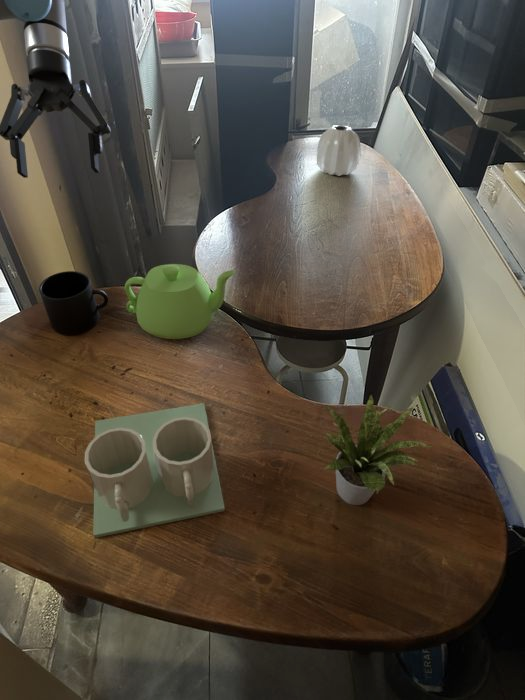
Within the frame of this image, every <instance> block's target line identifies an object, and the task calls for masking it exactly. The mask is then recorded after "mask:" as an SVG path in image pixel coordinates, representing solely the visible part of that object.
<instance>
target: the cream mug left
mask: <svg viewBox="0 0 525 700" xmlns="http://www.w3.org/2000/svg"><path fill="white" fill-rule="evenodd" d="M129 463H131V464H134V465H133V466H132V467H131V468H129V469H128V470H126V471H124V472H122V473H118V474H112V475H108V473H109V472H110V471H111V470H112V469H114V468H116V467H117V466H119V465H123V464H129ZM84 464H85V467H86V469H87V472H88V474H89V477H90V479H91V482H92V484H93V488H94V487H95V489H96V492H97V494H98V496H99V498H100V500H101V502H102V503H103V504H105V505H106V506H108V507H109V508H113V509H118V511H119V513H120V516H121V519H122V521H123V522H127V521H128V520H129V508H132V507H134V506H136V505H138V504H139V503H141V502H143V501H144V500H145V498H146V497H147V496H148V495H149V494H150V492H151V490H152V487H153V484H154V481H153V473H152V469H151V464H150V460H149V456H148V452H147V448H146V444H145V441H144V439H143V438H142V436H141V435H140V434H139V433H137V432H135V431H134V430H132V429H127V428H115V429H109V430H107V431H105V432H103V433H101V434H99V435H98V436H96V437H95V436H94V438H93V439H92V440H91V441H90V442H89V443H88V445H87V447H86V449H85V451H84Z"/></svg>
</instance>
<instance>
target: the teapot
mask: <svg viewBox="0 0 525 700" xmlns="http://www.w3.org/2000/svg"><path fill="white" fill-rule="evenodd" d="M235 274H236V270H234V269H232V270H227V271H224V272H222V273H220V275H219V276H218V277H217V280H216V288H215V290H213V291H211V289H210V287H209V285H208V283H207V282H206V280H205V278H204V277H203V276H202V275H201V273H200V272H199V271H198V270H197V269H196V268H194V267H193V266H190V265H187V264H180V263H167V264H161V265H157V266H154V267H152V268H151V269H150V270H148V272H147V273H146V275H145V277H142V276H132V277H130V278H128V279H127V280H126V281H125V282H124V283H125V284H124V292H125V294H126V297H127V298H128V301H127V302H126V304H125V308H126V310H127V312H128V313H130V314H134V315H135V314H136V321H137V324H138V325H139V326H140V328H141V329H142V330H144V331H145V332H146V333H148V334H149V335H151V336H153V337H156V338H160V339H166V340H182V339H188V338H191V337H195V336H198V335H200V334H201V333H202V332H203V331H204V330H206V329H207V327H208V326H209V325H210V323H211V321H212V320H213V316H214V313H215V312H216V311H218V310H220V308H221V307H222V305H223V304H224V301H225V294H226V284H227V282H228V279H229V278H230V277H232V276H233V275H235ZM132 285H141V286H140V288H139V291H138V293H137V296H136V295H135V293H134V291H133V290H132V288H131V286H132Z"/></svg>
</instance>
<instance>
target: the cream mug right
mask: <svg viewBox="0 0 525 700" xmlns="http://www.w3.org/2000/svg"><path fill="white" fill-rule="evenodd" d="M212 441H213V440H212V434H211V431H210V428H209V429H208V428H207V426H206V425H205V424H204V423H203V422H201V421H199V420H197V419H195V418H189V417H181V418H175V419H172V420H170V421H168V422H166V423H164V424H163V425H162V426H161V427H160V428H159V429H158V430H157V431H156V433H155V435H154V438H153V451H154V455H155V460H156V464H157V468H158V473H159V477H160V482H161V484H162V485H163V487H164V488H165V490H166V491H168V492H170V493H171V494H173V495H175V496H181V497H187V503H188V507H189V508H194V507H195V499H194V495H197V494H198V493H200V492H202V491H203V490H205V489H206V488H207V487H208V485H209V484H210V483H211V481H212V478H213V475H214V464H213V452H212V446H213V442H212ZM184 453H195V454H199V455H198V456H197V457H195V458H193V459H191V460H188V461H183V462H177V461H170V460H171V459H172V458H174V457H176V456H177V455H179V454H184Z"/></svg>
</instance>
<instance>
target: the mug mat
mask: <svg viewBox="0 0 525 700" xmlns="http://www.w3.org/2000/svg"><path fill="white" fill-rule="evenodd" d="M181 417H189V418H195V419H197V420H199V421H201V422H203V423H204V424H205V425H206V426H207V428H208V429H209V430H210V426H209V420H208V416H207V411H206V405H205V403H204V402H202V403H196V404H191V405H184V406H179V407H172V408H165V409H159V410H153V411H147V412H141V413H136V414H130V415H129V414H128V415H124V416H123V415H122V416H117V417H110V418H105V419H99V420H98V419H97V420H95V421H94V438H95V437H96V436H98V435H99V434H101V433H103V432H105V431H107V430H109V429H115V428H127V429H132V430H134V431H135V432H137V433H139V434H140V435H141V436H142V438H143V439H144V441H145V444H146V448H147V452H148V456H149V460H150V464H151V469H152V473H153V481H154V484H153V487H152V490H151V492H150V494H149V495H148V496H147V497H146V498H145V500H144V501H143V502H141V503H139V504H138V505H136V506H134V507H132V508H129V520H128V521H127V522H123V521H122V519H121V516H120V513H119V511H118V509H113V508H109V507H108V506H106V505H105V504H103V503H102V502H101V500H100V498H99V496H98V494H97V492H96V489H95V487H94V486H93V528H92V529H93V531H92V533H93V535H92V536H93V538H94V539H97V538H102V537H106V536H111V535H115V534H121V533H126V532H130V531H135V530H139V529H144V528H150V527H154V526H159V525H164V524H169V523H174V522H179V521H184V520H189V519H193V518H198V517H203V516H207V515H213V514H217V513H221V512H226V508H225V503H224V497H223V493H222V487H221V481H220V477H219V473H218V466H217V462H216V457H215V451H214V447H213V445H212V452H213V464H214V475H213V478H212V481H211V483H210V484H209V485H208V487H207V488H206V489H205V490H203V491H202V492H200V493H198V494H197V495H194V499H195V507H194V508H189V507H188V503H187V497H181V496H175V495H173V494H171V493H170V492H168V491H166V490H165V488H164V487H163V485H162V484H161V482H160V477H159V473H158V468H157V464H156V460H155V455H154V451H153V438H154V435H155V433H156V431H157V430H158V429H159V428H160V427H161V426H162V425H163V424H164V423H166V422H168V421H170V420H172V419H175V418H181ZM198 455H199V454H195V453H184V454H179V455H177V456H176V457H174V458H172V459H171V460H170V461H177V462H183V461H188V460H191V459H193V458H195V457H197V456H198ZM133 465H134V464H131V463H129V464H123V465H119V466H117V467H116V468H114V469H112V470H111V471H110V472H109V473H108V475H112V474H118V473H122V472H124V471H126V470H128V469H129V468H131V467H132V466H133Z"/></svg>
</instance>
